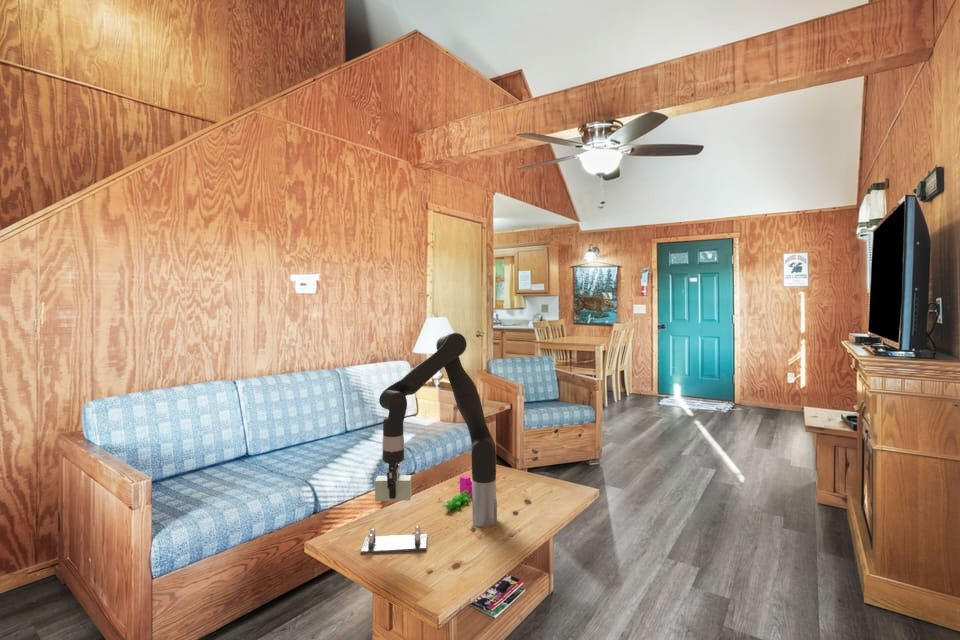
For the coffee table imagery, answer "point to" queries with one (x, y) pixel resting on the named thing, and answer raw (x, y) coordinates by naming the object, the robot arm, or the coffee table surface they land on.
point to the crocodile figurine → (457, 501)
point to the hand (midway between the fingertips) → (393, 494)
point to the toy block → (465, 485)
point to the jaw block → (401, 488)
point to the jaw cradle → (394, 543)
